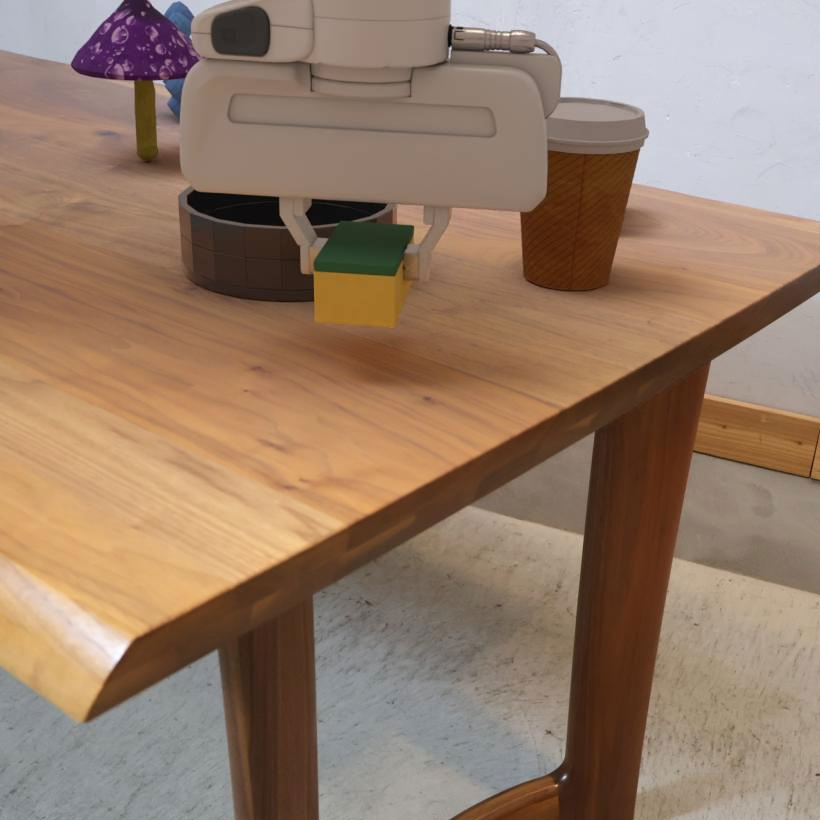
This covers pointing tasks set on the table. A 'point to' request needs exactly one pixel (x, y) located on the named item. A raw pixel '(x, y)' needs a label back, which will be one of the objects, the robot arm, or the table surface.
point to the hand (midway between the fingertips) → (365, 275)
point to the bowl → (257, 242)
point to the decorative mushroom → (138, 60)
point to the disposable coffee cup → (582, 193)
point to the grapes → (183, 21)
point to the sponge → (362, 274)
